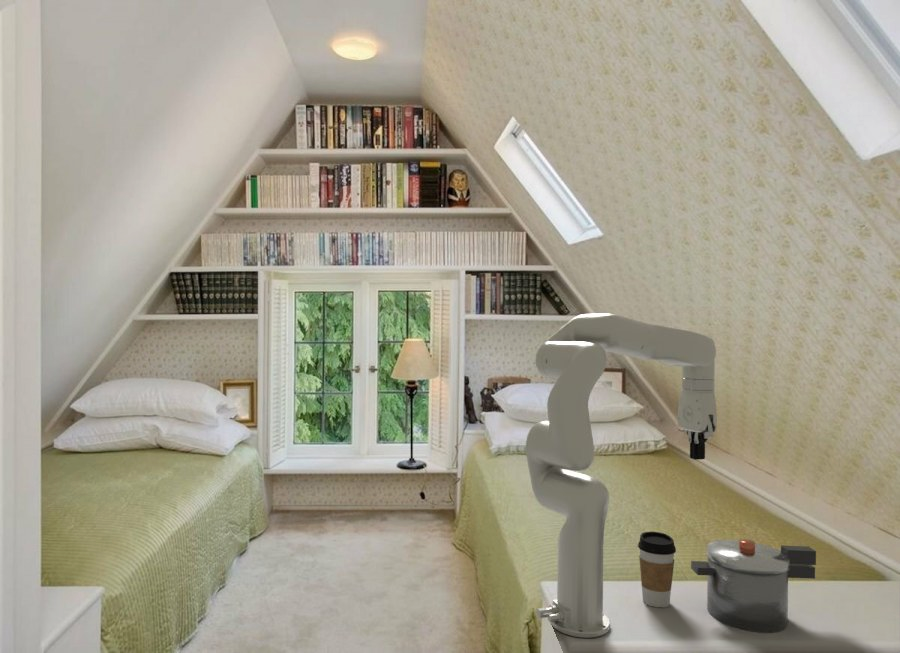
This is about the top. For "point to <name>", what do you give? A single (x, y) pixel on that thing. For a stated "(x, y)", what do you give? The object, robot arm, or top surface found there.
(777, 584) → the cooker pot
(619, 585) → the top surface
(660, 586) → the coffee cup
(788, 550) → the cooker lid
